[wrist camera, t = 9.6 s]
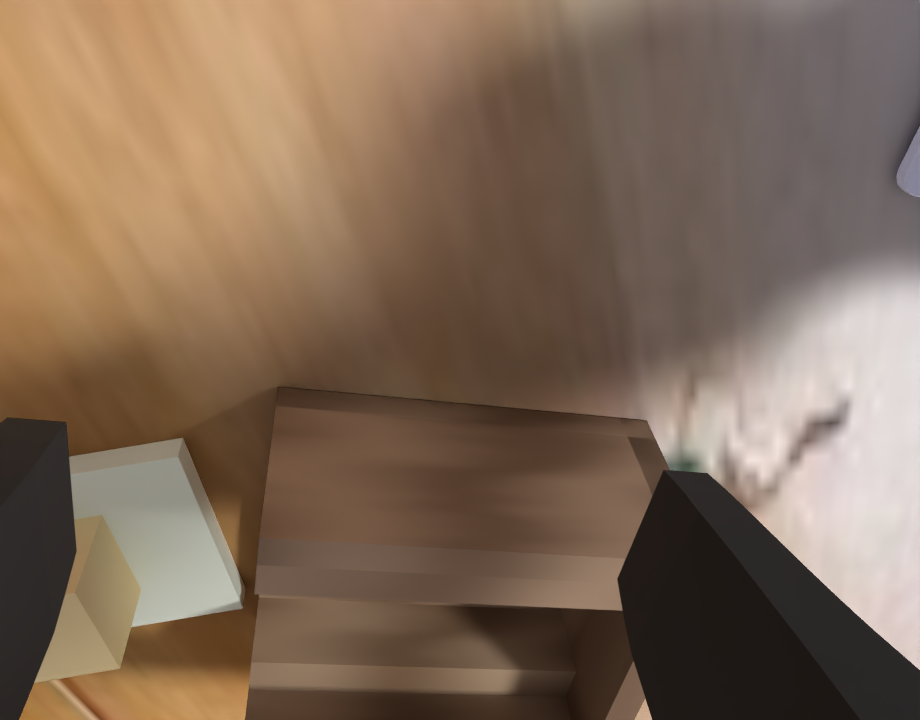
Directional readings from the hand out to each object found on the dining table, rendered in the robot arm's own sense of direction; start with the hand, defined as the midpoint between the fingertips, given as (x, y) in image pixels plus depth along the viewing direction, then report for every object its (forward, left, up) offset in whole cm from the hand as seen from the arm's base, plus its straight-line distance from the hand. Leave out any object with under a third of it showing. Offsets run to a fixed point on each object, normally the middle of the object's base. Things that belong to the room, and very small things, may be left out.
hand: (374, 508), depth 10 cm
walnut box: (-4, +10, -10) cm, 15 cm away
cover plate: (+7, +12, -10) cm, 17 cm away
